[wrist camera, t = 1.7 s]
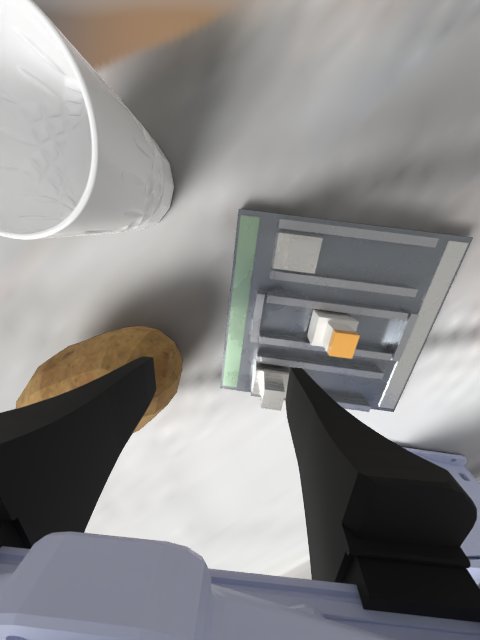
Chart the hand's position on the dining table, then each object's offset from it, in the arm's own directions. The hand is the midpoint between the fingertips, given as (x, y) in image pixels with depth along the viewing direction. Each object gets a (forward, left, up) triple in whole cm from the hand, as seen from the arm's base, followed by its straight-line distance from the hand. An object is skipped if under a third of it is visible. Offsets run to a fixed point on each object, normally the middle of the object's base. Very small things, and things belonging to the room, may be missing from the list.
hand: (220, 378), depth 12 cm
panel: (-8, -1, -9) cm, 12 cm away
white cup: (+9, -10, -10) cm, 17 cm away
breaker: (-8, -1, -8) cm, 11 cm away
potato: (+10, +6, -10) cm, 15 cm away
